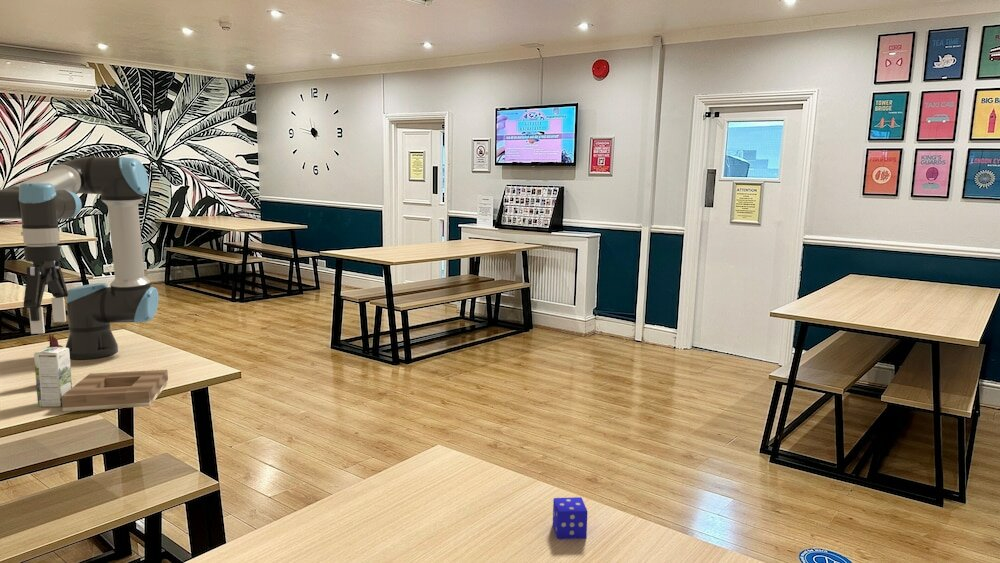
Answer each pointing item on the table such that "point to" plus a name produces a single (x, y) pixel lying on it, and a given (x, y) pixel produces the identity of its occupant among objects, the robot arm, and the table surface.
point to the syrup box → (52, 375)
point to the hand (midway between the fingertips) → (49, 327)
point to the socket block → (115, 390)
